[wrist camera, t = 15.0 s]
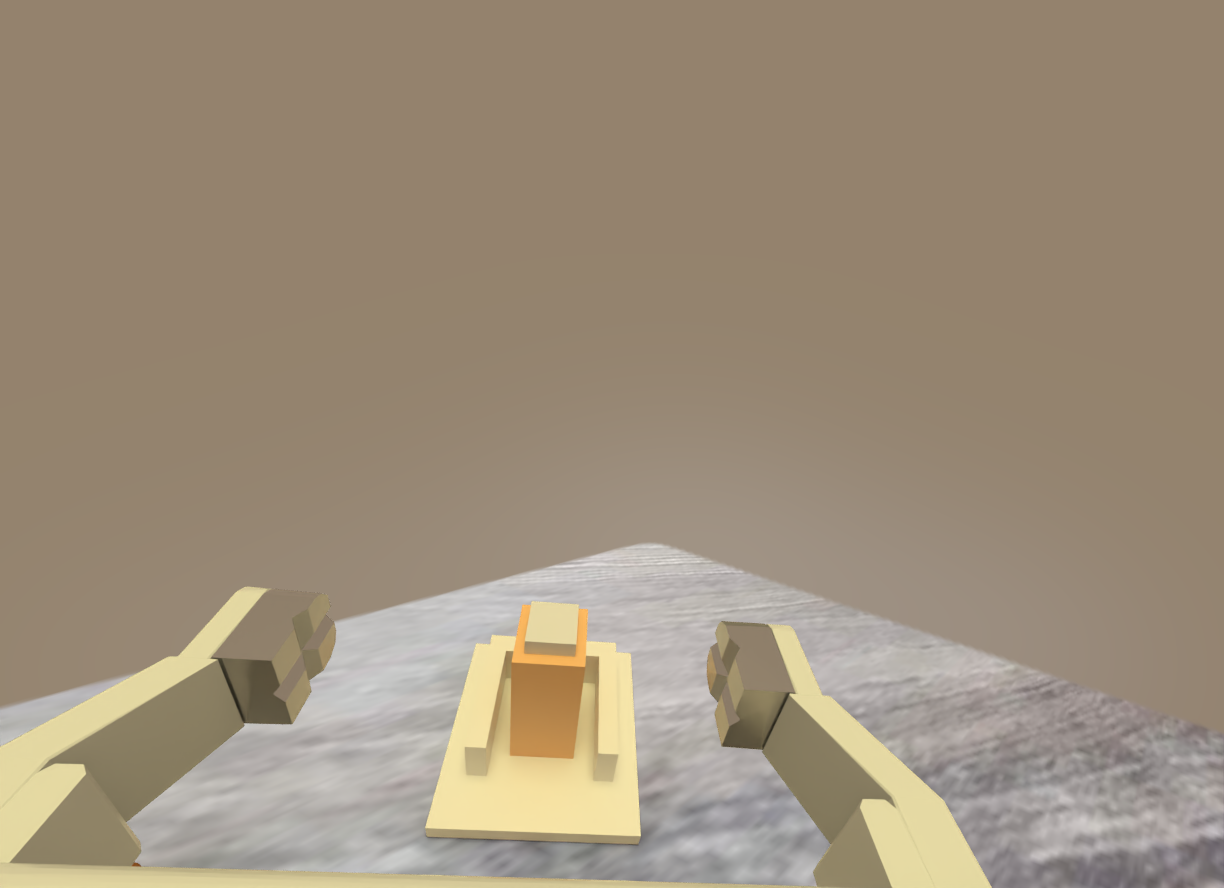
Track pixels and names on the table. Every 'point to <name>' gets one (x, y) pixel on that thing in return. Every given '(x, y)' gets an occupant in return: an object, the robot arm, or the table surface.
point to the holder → (540, 760)
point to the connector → (547, 679)
